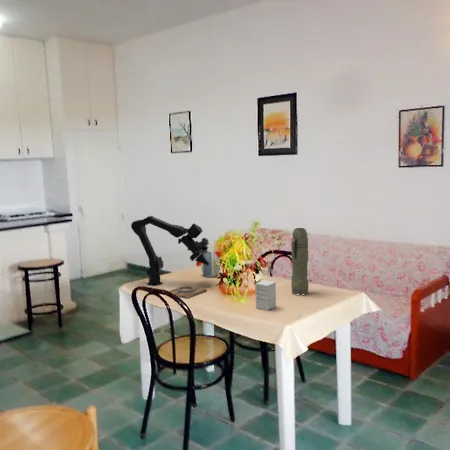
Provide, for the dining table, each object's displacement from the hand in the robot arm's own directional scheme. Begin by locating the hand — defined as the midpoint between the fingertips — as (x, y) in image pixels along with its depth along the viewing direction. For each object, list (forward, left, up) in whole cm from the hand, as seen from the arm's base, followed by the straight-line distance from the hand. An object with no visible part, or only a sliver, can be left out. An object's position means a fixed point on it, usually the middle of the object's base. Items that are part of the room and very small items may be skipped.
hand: (209, 263), depth 277 cm
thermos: (+49, +16, -14) cm, 53 cm away
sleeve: (-1, -1, -7) cm, 7 cm away
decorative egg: (-15, +19, -14) cm, 28 cm away
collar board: (-3, -17, -13) cm, 22 cm away
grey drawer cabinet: (+47, -14, -14) cm, 50 cm away
